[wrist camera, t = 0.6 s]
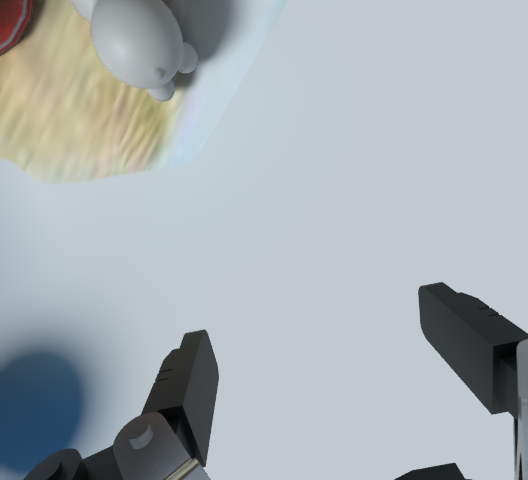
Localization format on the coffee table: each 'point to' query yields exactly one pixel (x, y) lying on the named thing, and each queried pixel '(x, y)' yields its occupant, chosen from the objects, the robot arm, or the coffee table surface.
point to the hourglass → (14, 21)
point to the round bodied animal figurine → (139, 43)
